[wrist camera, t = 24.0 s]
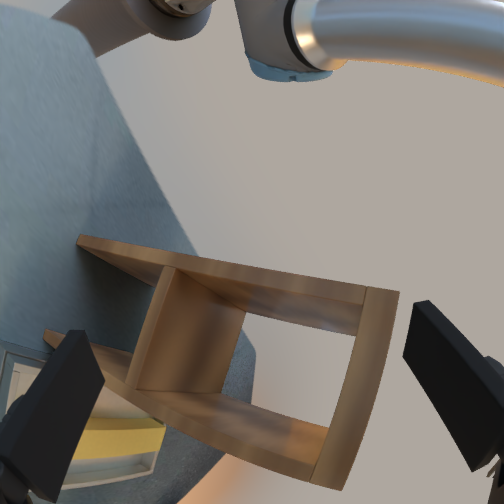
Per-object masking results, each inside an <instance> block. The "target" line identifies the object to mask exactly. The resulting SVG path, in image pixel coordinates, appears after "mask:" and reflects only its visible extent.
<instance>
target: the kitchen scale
mask: <svg viewBox="0 0 504 504" xmlns="http://www.w3.org/2000/svg"><path fill="white" fill-rule="evenodd" d="M50 356H51V354H47V353H43V352H39V351H36V350H32V349H29V348H25V347H22V346H18V345H15V344H12V343H9V342H5V341H2V340H0V422H2V418H3V417H4V415H5V414H7V410H8V409H9V407H10V406H11V404H12V403H13V402H14V401H15V400H16V399H17V398H18V397H19V396H21V395H22V394H23V395H25V393H26V392H27V390H28V389H29V387H30V386H31V384H32V383H33V381H34V380H35V378H36V377H37V375H38V374H39V372H40V371H41V369H42V368H43V366H44V365H45V364H46V362H47V361H48V359H49V358H50ZM90 417H91V418H151V419H153V420H155V421H157V422H158V423H160V424H162V425H164V426H165V427H166V426H167V424H166V423H164V422H162V421H160V420H159V419H157V418H155V417H153V416H152V415H150V414H148V413H146V412H145V411H143V410H141V409H140V408H138V407H136V406H135V405H133V404H132V403H130V402H128V401H127V400H125V399H124V398H122V397H120V396H119V395H117V394H116V393H114V392H113V391H111V390H110V389H108V388H107V387H105V386H104V385H103V388H102V390H101V392H100V394H99V396H98V399H97V401H96V403H95V405H94V408H93V410H92V412H91V415H90ZM158 452H159V451H153V452H147V453H140V454H133V455H125V456H116V457H106V458H94V459H78V460H72V461H71V463H70V466H69V468H68V471H67V474H66V476H65V479H64V482H63V484H62V487H61V490H63V489H73V488H81V487H88V486H94V485H101V484H106V483H112V482H117V481H122V480H127V479H132V478H136V477H141V476H145V475H149V474H152V473H153V469H154V466H155V463H156V459H157V456H158ZM28 492H32V491H31V490H30V489H29V491H28Z"/></svg>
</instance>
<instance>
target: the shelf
mask: <svg viewBox="0 0 504 504" xmlns="http://www.w3.org/2000/svg"><path fill="white" fill-rule="evenodd" d="M76 244H77V245H78V246H80V247H82V248H83V249H85V250H87V251H89V252H90V253H92V254H94V255H96V256H97V257H99V258H101V259H103V260H104V261H106V262H108V263H110V264H112V265H113V266H115V267H117V268H119V269H121V270H122V271H124V272H126V273H128V274H130V275H132V276H134V277H135V278H137V279H139V280H141V281H143V282H145V283H147V284H149V285H151V286H153V287H156V289H155V292H154V295H153V298H152V301H151V303H150V306H149V309H148V312H147V315H146V318H145V321H144V324H143V327H142V330H141V333H140V336H139V339H138V342H137V345H136V348H135V351H134V354H132V353H130V352H127V351H123V350H119V349H115V348H111V347H107V346H103V345H99V344H95V343H92V342H89V343H90V346H91V348H92V351H93V353H94V355H95V358H96V360H97V362H98V365H99V367H100V369H101V372H102V374H103V376H104V378H105V380H106V381H105V383H104V386H105V387H107V388H108V389H110V390H111V391H113V392H114V393H116V394H117V395H119V396H120V397H122V398H124V399H125V400H127V401H128V402H130V403H132V404H133V405H135V406H136V407H138V408H140V409H141V410H143V411H145V412H146V413H148V414H150V415H152V416H153V417H155V418H157V419H159V420H160V421H162V422H164V423H166V424H168V425H170V426H171V427H173V428H175V429H177V430H179V431H181V432H183V433H185V434H187V435H189V436H191V437H193V438H195V439H197V440H199V441H201V442H203V443H205V444H207V445H210V446H212V447H214V448H216V449H218V450H221V451H223V452H225V453H228V454H230V455H233V456H235V457H237V458H240V459H242V460H244V461H247V462H250V463H252V464H255V465H257V466H261V467H263V468H266V469H268V470H271V471H274V472H277V473H280V474H283V475H286V476H289V477H292V478H296V479H298V480H302V481H305V482H309V483H312V484H315V485H319V486H323V487H327V488H330V489H335V490H339V491H342V489H343V487H344V485H345V483H346V480H347V478H348V475H349V473H350V470H351V468H352V466H353V463H354V460H355V458H356V455H357V452H358V450H359V447H360V444H361V442H362V439H363V436H364V433H365V430H366V427H367V424H368V421H369V418H370V415H371V412H372V409H373V405H374V402H375V399H376V395H377V392H378V388H379V384H380V381H381V377H382V373H383V369H384V366H385V362H386V358H387V354H388V349H389V345H390V340H391V336H392V331H393V325H394V321H395V316H396V310H397V305H398V300H399V294H400V292H399V291H394V290H388V289H382V288H375V287H369V286H368V287H366V286H363V285H357V284H351V283H345V282H339V281H333V280H327V279H321V278H316V277H310V276H304V275H298V274H293V273H286V272H281V271H275V270H269V269H264V268H258V267H253V266H247V265H242V264H236V263H230V262H224V261H219V260H214V259H208V258H203V257H198V256H192V255H187V254H181V253H176V252H171V251H165V250H160V249H155V248H149V247H144V246H139V245H134V244H129V243H123V242H118V241H113V240H108V239H103V238H98V237H93V236H88V235H83V234H80V236H79V238H78V240H77V243H76ZM246 312H248V313H252V314H256V315H260V316H264V317H268V318H273V319H277V320H281V321H286V322H290V323H294V324H299V325H303V326H308V327H312V328H317V329H322V330H327V331H331V332H336V333H341V334H346V335H351V336H356V339H355V343H354V347H353V350H352V354H351V358H350V362H349V365H348V369H347V373H346V376H345V380H344V383H343V386H342V390H341V393H340V397H339V400H338V403H337V406H336V409H335V412H334V416H333V418H332V421H331V424H330V427H329V428H327V427H323V426H320V425H316V424H312V423H309V422H305V421H302V420H298V419H295V418H291V417H288V416H285V415H282V414H278V413H275V412H272V411H269V410H266V409H263V408H260V407H257V406H254V405H251V404H249V403H246V402H243V401H240V400H238V399H235V398H232V397H230V396H227V395H224V394H222V393H221V391H222V388H223V385H224V381H225V378H226V375H227V372H228V369H229V366H230V363H231V359H232V356H233V353H234V350H235V347H236V344H237V341H238V337H239V334H240V331H241V328H242V325H243V321H244V318H245V315H246ZM65 336H66V335H64V334H61V333H58V332H55V331H52V330H49V329H45V332H44V336H43V339H44V340H45V341H46V342H47V343H48V344H50V345H51V346H52V347H53V348H54V349H56V348H57V347H58V345H59V344H60V343H61V341H62V340H63V339H64V337H65Z"/></svg>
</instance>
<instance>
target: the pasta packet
mask: <svg viewBox="0 0 504 504" xmlns="http://www.w3.org/2000/svg"><path fill="white" fill-rule="evenodd" d="M165 430H166V427H165V426H164V425H162V424H160V423H158V422H157V421H155V420H153V419H151V418H91V417H89V419H88V421H87V424H86V426H85V429H84V431H83V433H82V436H81V438H80V441H79V443H78V445H77V448H76V450H75V453H74V455H73V458H72V460H78V459H94V458H106V457H116V456H125V455H133V454H140V453H147V452H153V451H159V450H160V447H161V444H162V440H163V437H164V434H165Z"/></svg>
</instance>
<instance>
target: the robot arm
mask: <svg viewBox="0 0 504 504" xmlns="http://www.w3.org/2000/svg"><path fill="white" fill-rule="evenodd" d="M214 1H216V0H149V2H150V3H151V4H152V5H153V6H154V7H155V8H156V9H157V10H159V11H160V12H161V13H163V14H165V15H167V16H169V17H172V18H185V17H188V16H191V15H194V14H196V13H198V12H200V11H201V10H203V9H204V8H206V7H207V6H208V5H210V4H211V3H213V2H214ZM234 1H235V6H236V10H237V15H238V19H239V24H240V28H241V33H242V38H243V42H244V47H245V54H246V56H247V57H248V60H249V63H250V67H251V70H252V71H253V73H254V74H255V75H256V76H258V77H260V78H262V79H266V80H270V81H277V82H291V81H296V82H308V81H316V80H321V79H325V78H327V77H329V76H330V75H331V74H332V72H333V70H336V69H339V68H340V67H342V66H343V65H344V64H345V63H346V62H347V61H348V60H353V61H367V62H380V63H388V64H396V65H404V66H412V67H417V68H424V69H429V70H435V71H440V72H445V73H450V74H454V75H459V76H463V77H467V78H472V79H475V80H480V81H483V82H487V83H490V84H493V85H497V86H500V87H503V88H504V3H502V2H498V1H493V0H234ZM403 358H404V360H405V361H406V363H407V364H408V366H409V367H410V369H411V370H412V372H413V374H414V375H415V377H416V378H417V380H418V381H419V383H420V385H421V386H422V388H423V389H424V391H425V392H426V394H427V396H428V397H429V399H430V401H431V402H432V404H433V405H434V407H435V409H436V410H437V412H438V414H439V415H440V417H441V419H442V420H443V422H444V424H445V426H446V427H447V429H448V431H449V432H450V434H451V436H452V438H453V439H454V441H455V443H456V445H457V446H458V448H459V450H460V452H461V453H462V455H463V457H464V459H465V461H466V462H467V464H468V466H469V468H470V470H471V472H474V471H476V470H478V469H480V468H482V467H483V466H485V465H487V464H488V463H490V461H491V460H492V459H493V458H494V456H495V455H496V454H498V456H499V457H500V459H499V460H498V461H497V463H496V464H495V465H494V466H493V467H492V469H491V470H490V471H489V472H488V475H487V477H490V476H491V474H492V473H493V472H494V471H495V475H494V476H493V478H494V479H493V484H492V488H491V492H490V496H489V500H488V504H504V367H503V366H502V365H501V363H499V362H498V361H496V360H495V359H493V358H491V357H490V356H487V357H483V356H482V355H481V354H480V353H479V351H478V350H477V349H476V348H475V347H474V346H473V345H472V344H471V343H470V342H469V341H468V340H467V338H466V337H465V336H464V335H463V334H462V333H461V332H460V331H459V330H458V329H457V328H456V327H455V326H454V325H453V324H452V323H451V322H450V321H449V320H448V319H447V318H446V317H445V316H444V315H443V314H442V312H440V310H439V309H438V308H437V307H436V306H435V305H433V304H432V303H431V302H430V301H429V300H426V301H421V302H415V303H414V304H413V309H412V315H411V320H410V325H409V330H408V335H407V339H406V343H405V348H404V352H403ZM105 381H106V380H105V378H104V376H103V374H102V372H101V369H100V367H99V365H98V362H97V360H96V358H95V355H94V353H93V351H92V348H91V346H90V343H89V341H88V338H87V335H86V333H85V330H69V332H68V333H67V334H66V336H65V337H64V339H63V340H62V341H61V343H60V344H59V345H58V347H57V348H56V349H55V351H54V352H53V354H52V355H51V356H50V358H49V359H48V361H47V362H46V364H45V365H44V366H43V368H42V369H41V371H40V372H39V374H38V375H37V377H36V378H35V380H34V381H33V383H32V384H31V386H30V387H29V389H28V390H27V392H26V393H25V395H23V394H22V395H21V396H19V397H18V398H17V399H16V400H15V401H14V402H13V403H12V404H11V406H10V407H9V409H8V410H7V414H5V415H4V417H3V418H2V422H0V504H33V502H32V500H31V498H30V496H29V495H27V494H28V491H29V489H30V490H31V491H32V492H33V493H34V494H35V495H36V496H38V497H39V498H41V499H44V500H47V501H49V502H52V503H55V504H56V501H57V499H58V496H59V493H60V490H61V487H62V484H63V482H64V479H65V476H66V474H67V471H68V468H69V466H70V463H71V461H72V458H73V455H74V453H75V450H76V448H77V445H78V443H79V441H80V438H81V436H82V433H83V431H84V429H85V426H86V424H87V421H88V419H89V417H90V415H91V412H92V410H93V408H94V405H95V403H96V401H97V399H98V396H99V394H100V392H101V390H102V388H103V385H104V383H105Z"/></svg>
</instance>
